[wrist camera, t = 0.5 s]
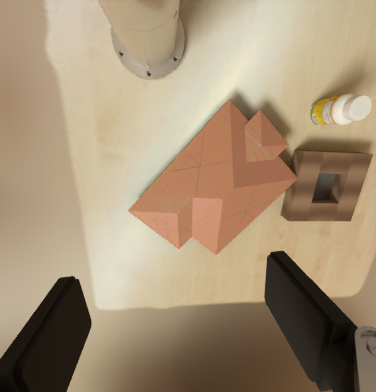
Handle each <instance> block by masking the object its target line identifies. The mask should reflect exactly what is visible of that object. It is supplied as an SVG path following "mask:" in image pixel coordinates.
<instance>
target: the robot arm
mask: <svg viewBox="0 0 376 392" xmlns="http://www.w3.org/2000/svg"><path fill="white" fill-rule="evenodd" d="M98 2H99V4H100V6H101V8H102V10H103V12H104V13H105V15H106V17H107V19H108V21H109V23H110V25H111V36H112V43H113V46H114V49H115V52H116V54H117V56H118V58H119V59H120V61H121V62H122V64H123V65H124V66H125V67H126V68H127V69H128V70H129V71H130V72H131V73H133V74H134V75H136V76H138V77H140V78H143V79H149V80H155V79H160V78H163V77H165V76H167V75H169V74H170V73H171V72H172V71H173V70H174V69H175V68H176V67H177V65H178V64H179V62H180V60H181V57H182V54H183V50H184V41H185V36H184V29H183V25H182V22H181V19H180V17H179V15H178V14H179V4H180V0H98ZM121 54H123V56H121ZM175 58H176V59H177V61H174V59H175ZM149 73H150V74H151V75H150V76H148V74H149ZM265 301H266V304H267V306H268V307H269V309H270V311H271V313H272V315H273V316H274V318H275V320H276V322H277V323H278V325H279V327H280V329H281V330H282V332H283V334H284V336H285V337H286V339H287V341H288V343H289V344H290V346H291V348H292V350H293V352H294V353H295V355H296V357H297V358H298V360H299V362H300V364H301V366H302V367H303V369H304V371H305V372H306V374H307V376H308V378H309V379H310V380H311V381H312V382H314V381H315V383H316V385H317V386H318V388H319V390H320V391H326V390H333V392H376V328H374V327H367V326H363V327H360V328H358V327H357V326H356V325H355V324H354V323H353V322H352V321H351V320H350V319H349V318H348V317H347V316H346V315H345V314H344V313H343V312H342V311H341V310H340V309H339V308H338V306H337V305H336V304H335V303H333V301H332V300H331V299H330V298H329V297H328V296H327V295H326V294H325V293H324V292H323V291H322V290H321V289H320V288H319V287H318V286H317V285H316V284H315V283H314V282H313V280H312V279H310V278H309V277H308V276H307V275H306V274H305V273H304V272H303V271H302V270H301V269H300V267H299V266H298V265H297V264H296V263H295V262H294V261H293V260H292V259H291V258H290V257H289V256H288V255H287V254H286V253H285V252H284V251H276V252H271V253H270V255H268V257H267V268H266V282H265ZM90 329H91V318H90V314H89V311H88V308H87V305H86V301H85V298H84V295H83V291H82V288H81V285H80V282H79V280H78V279H75V277H73V276H70V277H63V278H59V279H58V280H57V282H56V283H55V284H54V286H53V287H52V289H51V290H50V291H49V293H48V294H47V295H46V297H45V298H44V300H43V301H42V302H41V304H40V305H39V306H38V308H37V310H36V311H35V312H34V313H33V315H32V316H31V318H30V319H29V320H28V322H27V323H26V324H25V326H24V327H23V329H22V330H21V332H20V333H19V334H18V335H17V337H16V338H15V340H14V341H13V342H12V344H11V345H10V347H9V348H8V349H7V351H6V352H5V353H4V355H3V356H2V358H1V359H0V392H67V389H68V386H69V384H70V381H71V379H72V376H73V373H74V371H75V368H76V365H77V363H78V360H79V357H80V355H81V352H82V350H83V347H84V344H85V342H86V339H87V337H88V334H89V332H90Z"/></svg>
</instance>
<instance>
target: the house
mask: <svg viewBox="0 0 376 392" xmlns="http://www.w3.org/2000/svg"><path fill="white" fill-rule="evenodd" d="M288 145H289V144H288V143H287V142H286V140H285V139H284V138H283V137H282V136H281V134H280V133H279V132H278V131H277V130H276V128H275V127H274V126H273V125H272V123H271V122H270V121H269V120H268V119H267V117H266V116H265V115H264V114H263V112H262V111H261V110H259V111H258V112H257V113H256V114H255V115H254V116H253V117H252V118H251V119H250V120H249V121H248V120H247V119H246V117H245V116H244V115H243V114H242V113H241V112H240V111H239V109H238V108H237V107H236V106H235V105H234V104H233V102H232V101H231V100H230V99H229V100H228V101H227V102H226V103H225V104H224V106H223V107H222V108H221V109H220V110H219V111H218V112H217V113H216V114H215V115H214V117H213V118H212V119H211V120H210V121H209V122H208V123H207V124H206V125H205V126H204V128H203V129H202V130H201V131H200V132H199V133H198V134H197V135H196V136H195V138H194V139H193V140H192V141H191V142H190V143H189V144H188V145H187V146H186V147H185V149H184V150H183V151H182V152H181V153H180V154H179V155H178V156H177V157H176V158H175V160H174V161H173V162H172V163H171V164H170V165H169V166H168V167H167V168H166V169H165V171H164V172H163V173H162V174H161V175H160V176H159V177H158V178H157V179H156V180H155V182H154V183H153V184H152V185H151V186H150V187H149V188H148V189H147V190H146V191H145V193H144V194H143V195H142V196H141V197H140V198H139V199H138V200H137V201H136V203H135V204H134V205H133V206H132V207H131V208H130V209H129V210H128V211H129V212H130V213H131V214H133V215H134V216H135V217H137V218H138V219H139V220H141V221H142V222H143V223H145V224H146V225H147V226H149V227H150V228H151V229H153V230H154V231H155V232H157V233H158V234H159V235H161V236H162V237H163V238H165V239H166V240H167V241H169V242H170V243H171V244H173V245H174V246H175V247H177V248H178V249H179V248H180V247H182V246H183V245H184V244H185V243H186V242H187V241H188V240H189V239H190V238H191V237H194V238H195V239H196V240H197V241H199V242H200V243H201V244H202V245H204V246H205V247H206V248H207V249H209V250H210V251H211V252H213V253H214V254H215V255H217V254H218V253H219V252H220V251H221V250H222V249H223V248H224V247H225V246H226V245H227V244H229V243H230V242H231V241H232V240H233V239H234V238H235V237H236V236H237V235H238V234H239V233H240V232H241V231H242V230H244V229H245V228H246V227H247V226H248V225H249V224H250V223H251V222H252V221H253V220H254V219H255V218H256V217H257V216H259V215H260V214H261V213H262V212H263V211H264V210H265V209H266V208H267V207H268V206H269V205H270V204H271V203H272V202H274V201H275V200H276V199H277V198H278V197H279V196H280V195H281V194H282V193H283V192H284V191H285V190H286V189H287V188H288V187H290V186H291V185H292V184H293V183H294V182H295V181H296V179H297V177H296V175H295V174H294V173H293V172H292V171H291V170H290V168H289V167H288V166H287V165H286V164H285V163H284V162H283V160H282V159H281V158H280V157H279V156H278V155H279V154H280V153H281V152H282V151H283V150H284V149H285V148H286V147H287V146H288Z"/></svg>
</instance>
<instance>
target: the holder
mask: <svg viewBox="0 0 376 392" xmlns="http://www.w3.org/2000/svg"><path fill="white" fill-rule="evenodd" d="M372 156H373V154H367V153H358V152H334V151H310V150H294V154H293V159H292V164H291V169H290V170H291V171H292V172H293V173H294V174H295V175H296V177H297V179H296V181H295V182H294V183H293V184H292V185H291V186H290V187H288V188H287V189H286V192H285V197H284V202H283V207H282V211H281V216H283V217H284V218H285V219H287V220H288V221H351V219H352V216H353V213H354V210H355V207H356V204H357V201H358V198H359V195H360V192H361V189H362V186H363V183H364V180H365V177H366V174H367V171H368V168H369V165H370V162H371V159H372Z"/></svg>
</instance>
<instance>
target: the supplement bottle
mask: <svg viewBox="0 0 376 392" xmlns="http://www.w3.org/2000/svg"><path fill="white" fill-rule="evenodd" d="M371 107H372V101H371V99H370V97H368V96H366V95H360V96H357V95H355V94H351V93H350V94H343V95H338V96H333V97H328V98H323V99H320V100H318V101H316V102H315V103H314V104H313V105H312V106H311V108H310V111H309V119H310V121H311V123H312V124H314V125H317V126H323V125H346V124H349V123H351V122H353V121H358V120H362V119H364V118H365V117H366V116H367V115H368V114H369V112H370V110H371Z"/></svg>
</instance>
